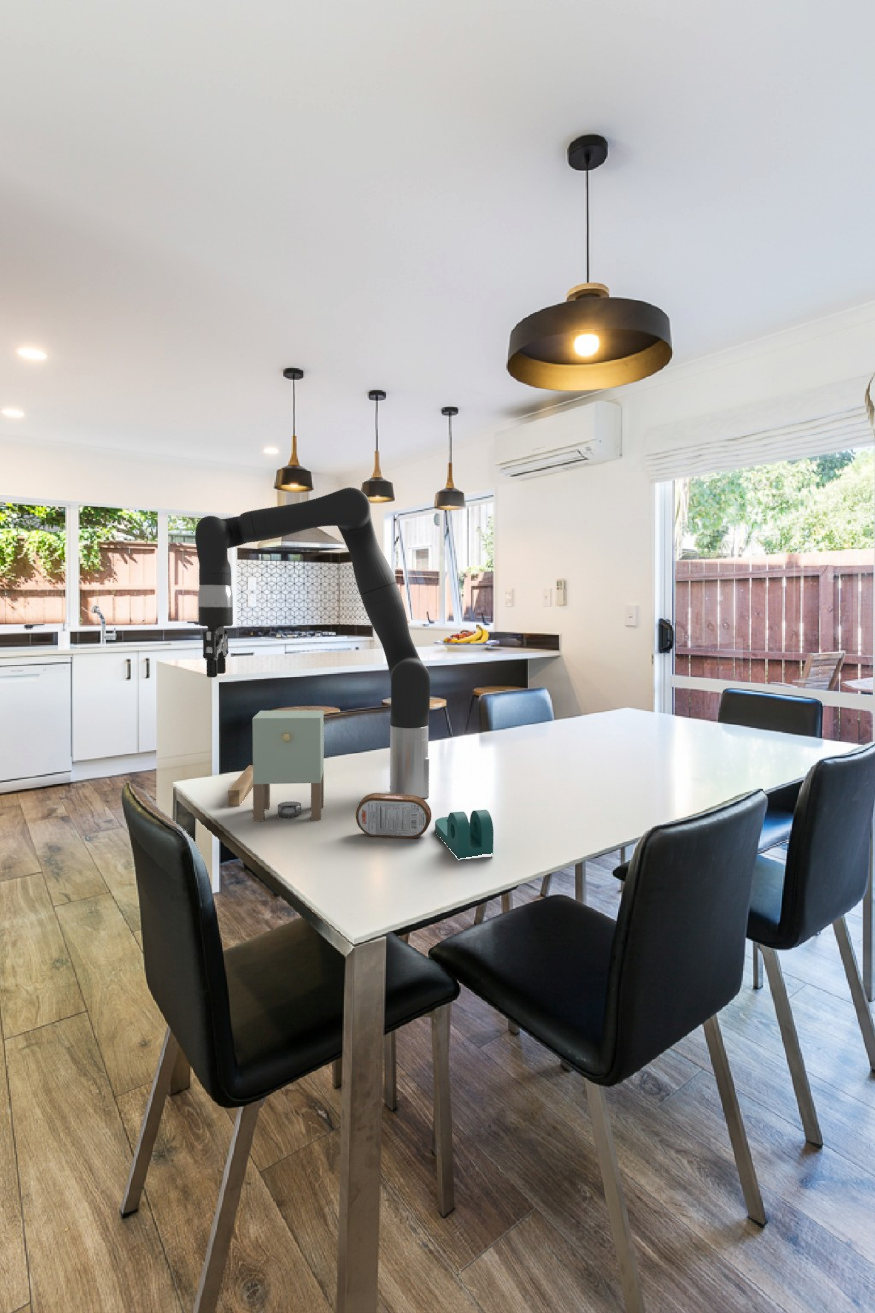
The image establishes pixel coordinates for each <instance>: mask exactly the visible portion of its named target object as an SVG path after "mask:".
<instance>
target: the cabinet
mask: <svg viewBox="0 0 875 1313" xmlns="http://www.w3.org/2000/svg"><path fill="white" fill-rule="evenodd" d="M324 713H325V712H324V710H323V709H322V710H259V711H258V713H256V714H255V715H254V716H253V717H252V765H253V788H252V797H253V798H252V805H253V806H252V807H253V808H252V811H253V812H252V813H253V818H252V820H253V822H264V821H265V817H266V816H265V812H266V811H265V809H268V810H270V808H271V785H277V784H278V785H280V784H281V785H282V784H283V785H284V784H285V785H287V784H288V785H289V784H310V820H311V821H318V820H319V821H320V820H321V819H322V809H324V806H325V805H324V804H325V800H324V799H325V798H324V797H325V796H324V795H325V794H324V792H325V790H324V789H325V788H324V786H325V783H324V782H325V780H324V778H325V776H324V774H325V773H324V772H325V768H324V767H325V766H324V764H325V763H324V761H325V760H324V759H325V758H324V756H325V755H324V751H325V749H324V747H325V744H324V743H325V742H324V741H325V738H324V737H325V735H324V732H325V729H324V728H325V727H324V722H325V721H324V716H325V714H324Z"/></svg>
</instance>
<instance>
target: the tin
mask: <svg viewBox="0 0 875 1313" xmlns="http://www.w3.org/2000/svg"><path fill="white" fill-rule="evenodd" d="M429 805H430V804H428V802H427V801H426V800H425V799H424V798H420V797H418V796H415V795H404V794H390V793H385V792H373V793H370V794H369V793H368V794H367V795H365V796H364V797H363V798H362V799H360V801H359V802H358V805H357V808H356V811H355V820H356V824H357V826H358V828H359V829H360V830H361V831H362V833H364V834H365V835H368V836H371V837H376V838H377V837H378V838H395V839H417V838H419V837H421V836H422V835H423V834H425V832H426V831H427V830H428V828H429V826H430V824H431V822H432V811H431V810H432V809H431V807H430V806H429Z"/></svg>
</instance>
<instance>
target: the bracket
mask: <svg viewBox="0 0 875 1313" xmlns="http://www.w3.org/2000/svg"><path fill="white" fill-rule="evenodd" d="M434 832H436V833H437V835H438V836H439V837H441V839H442V840H443V842H445V843H446V845H447V846H448V848H450V849H451V851H452V852H453V853H454V854H455V855H456V856H457V858H458V859H460V858H466V857H472V856H478V855H482V854H491V853H493V854H494V823H493V819H492V816H491V813H490V812H489V811H488V810H487V809H478V810H477V809H476V810H472V812H471V813H470V818H468V816H467V814H466V812H465V811H455V812H451V811H450V812H449V813H448V816H445V817H444V816H443V817H439V818H437V819H436V820H435V821H434ZM436 833H435V834H436ZM437 835H436V836H437ZM438 836H437V837H438ZM439 837H438V838H439ZM441 839H440V840H441ZM443 842H442V843H443ZM446 845H445V846H446ZM448 848H447V849H448Z"/></svg>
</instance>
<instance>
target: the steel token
mask: <svg viewBox="0 0 875 1313" xmlns="http://www.w3.org/2000/svg"><path fill="white" fill-rule="evenodd" d="M300 816H302V803H301V802H299V801H295V800H294V801H283V802H280V803H278V804H277V818H280V819H286V820H287V819H295V818H298V817H300Z"/></svg>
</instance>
